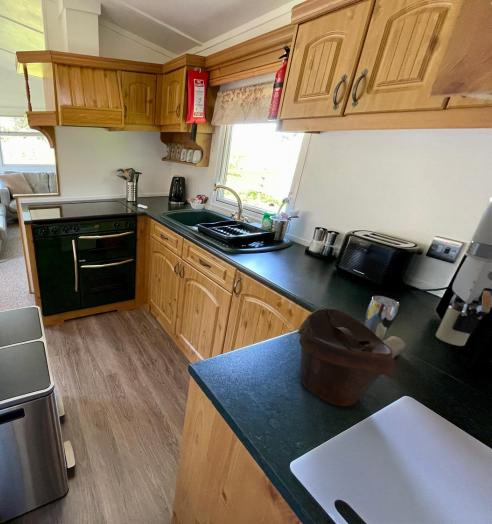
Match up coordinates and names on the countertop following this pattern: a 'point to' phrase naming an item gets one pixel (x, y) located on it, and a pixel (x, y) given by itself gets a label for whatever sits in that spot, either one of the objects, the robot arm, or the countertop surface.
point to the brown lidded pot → (341, 356)
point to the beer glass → (381, 315)
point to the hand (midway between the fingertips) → (457, 325)
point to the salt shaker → (395, 345)
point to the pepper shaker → (447, 323)
